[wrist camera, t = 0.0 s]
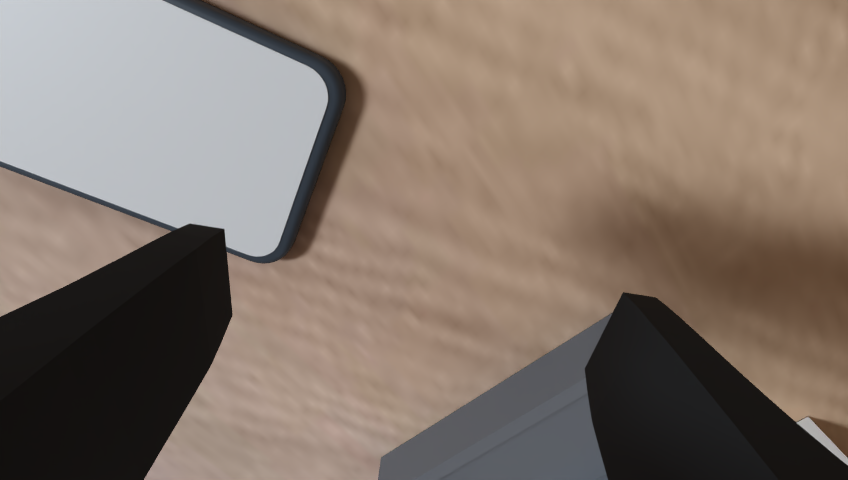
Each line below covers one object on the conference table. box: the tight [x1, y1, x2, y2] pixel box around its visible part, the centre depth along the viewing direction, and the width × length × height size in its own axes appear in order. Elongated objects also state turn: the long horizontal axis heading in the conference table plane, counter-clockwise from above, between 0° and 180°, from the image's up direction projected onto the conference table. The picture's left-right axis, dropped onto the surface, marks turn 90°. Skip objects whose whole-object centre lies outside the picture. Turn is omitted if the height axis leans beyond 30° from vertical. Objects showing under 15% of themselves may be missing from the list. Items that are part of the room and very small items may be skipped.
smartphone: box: [0, 0, 346, 263], centre depth 18 cm, size 9×2×16 cm
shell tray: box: [378, 313, 612, 480], centre depth 23 cm, size 14×8×3 cm, turn 131°
